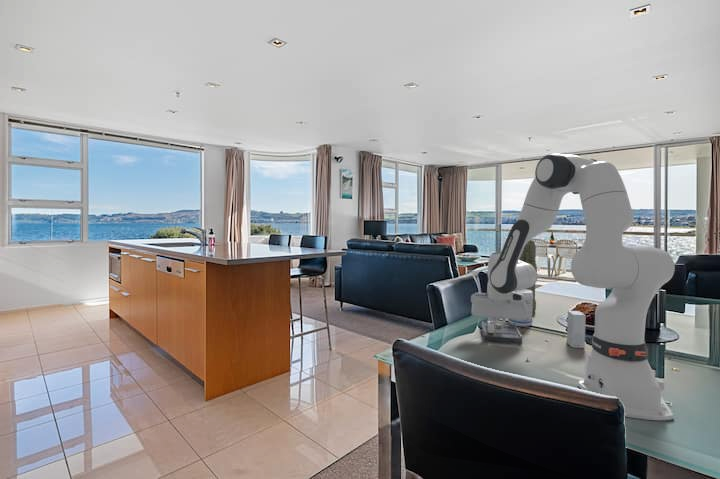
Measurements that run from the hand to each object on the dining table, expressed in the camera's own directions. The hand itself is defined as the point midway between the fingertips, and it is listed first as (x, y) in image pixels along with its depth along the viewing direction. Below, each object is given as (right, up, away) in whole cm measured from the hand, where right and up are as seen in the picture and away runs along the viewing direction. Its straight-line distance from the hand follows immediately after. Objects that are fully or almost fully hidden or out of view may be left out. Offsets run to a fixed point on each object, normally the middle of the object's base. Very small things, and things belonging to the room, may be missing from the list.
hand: (498, 329), depth 145 cm
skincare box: (+25, -4, -8) cm, 27 cm away
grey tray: (+2, -3, +4) cm, 5 cm away
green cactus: (+26, -1, +36) cm, 44 cm away
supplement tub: (+16, -2, +19) cm, 25 cm away
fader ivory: (-3, -1, +1) cm, 3 cm away
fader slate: (0, -1, +8) cm, 8 cm away
